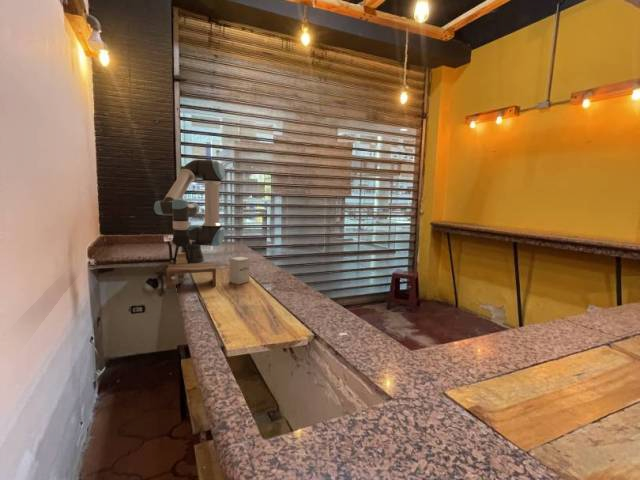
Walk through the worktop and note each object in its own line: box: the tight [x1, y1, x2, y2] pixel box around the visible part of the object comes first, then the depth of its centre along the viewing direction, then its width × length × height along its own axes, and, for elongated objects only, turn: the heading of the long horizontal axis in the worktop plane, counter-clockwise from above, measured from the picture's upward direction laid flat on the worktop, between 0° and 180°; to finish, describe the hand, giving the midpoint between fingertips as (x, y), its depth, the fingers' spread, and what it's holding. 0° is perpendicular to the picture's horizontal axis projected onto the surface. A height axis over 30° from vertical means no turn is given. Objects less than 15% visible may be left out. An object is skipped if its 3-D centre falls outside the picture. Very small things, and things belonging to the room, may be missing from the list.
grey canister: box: [229, 256, 250, 285], centre depth 172 cm, size 7×7×13 cm
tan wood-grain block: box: [176, 252, 187, 285], centre depth 169 cm, size 17×4×12 cm, turn 20°
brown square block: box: [172, 275, 179, 286], centre depth 166 cm, size 5×5×3 cm
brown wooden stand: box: [165, 262, 217, 290], centre depth 165 cm, size 14×22×9 cm, turn 109°
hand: (182, 272), depth 176 cm, fingers closed on tan wood-grain block, 4 cm apart
